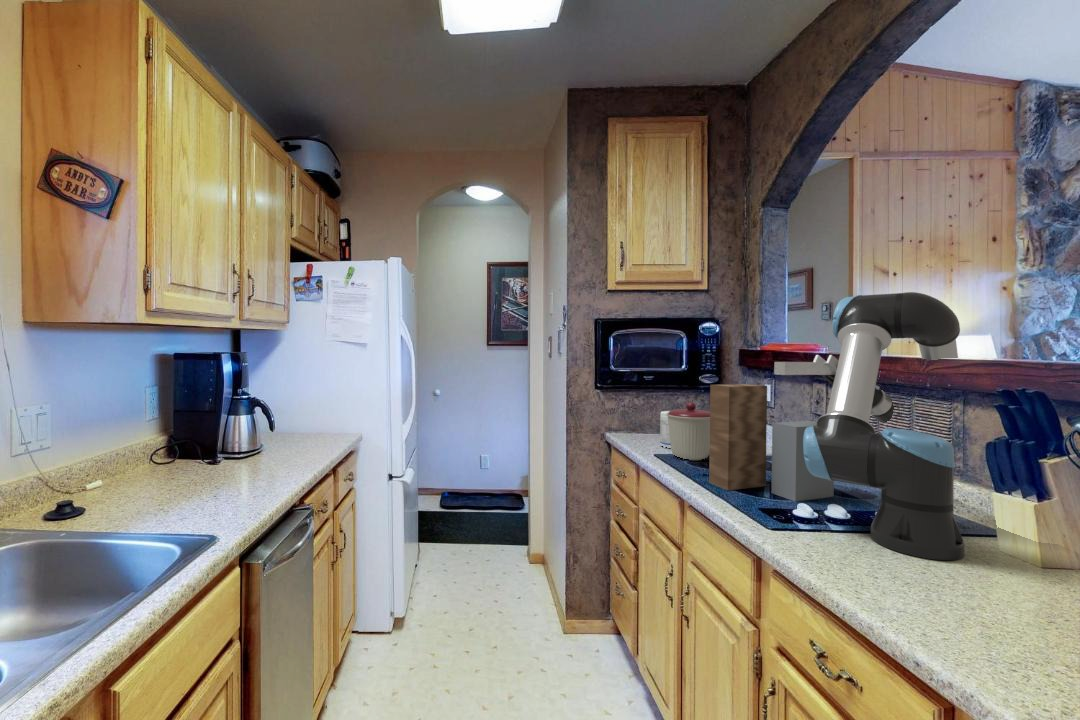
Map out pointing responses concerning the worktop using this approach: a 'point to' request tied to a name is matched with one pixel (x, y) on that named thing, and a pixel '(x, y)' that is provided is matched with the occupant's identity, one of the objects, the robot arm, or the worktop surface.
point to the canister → (689, 432)
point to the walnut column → (738, 436)
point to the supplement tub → (664, 429)
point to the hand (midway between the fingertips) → (822, 359)
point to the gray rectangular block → (794, 465)
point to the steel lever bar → (803, 368)
